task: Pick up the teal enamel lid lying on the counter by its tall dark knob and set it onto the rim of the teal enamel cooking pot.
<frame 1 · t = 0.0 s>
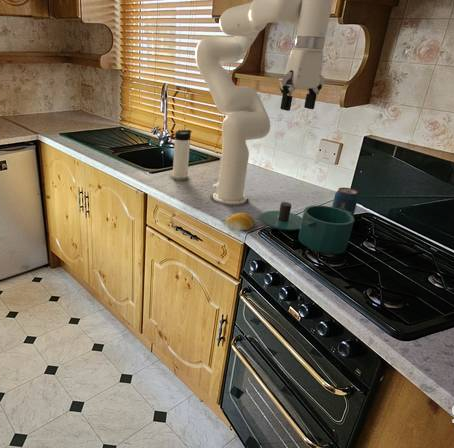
hand: (297, 109, 116), 37 cm above the worktop, tool pointing down, fingers open, 9 cm apart
travel mug: (180, 178, 170), on the worktop
bread roll: (239, 226, 129), on the worktop
lid: (282, 221, 133), point 1 cm above the worktop
pot: (321, 243, 121), on the worktop
soda can: (339, 224, 134), on the worktop
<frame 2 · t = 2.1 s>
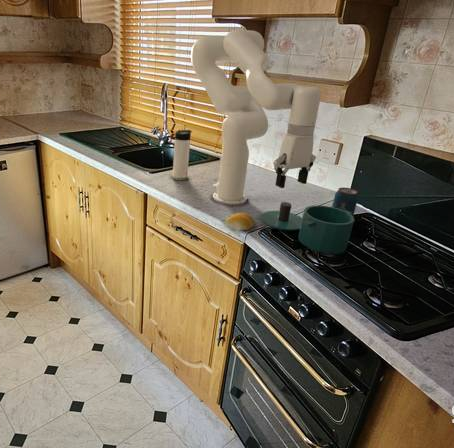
hand: (290, 184, 127), 13 cm above the worktop, tool pointing down, fingers open, 9 cm apart
nothing on the worktop moved.
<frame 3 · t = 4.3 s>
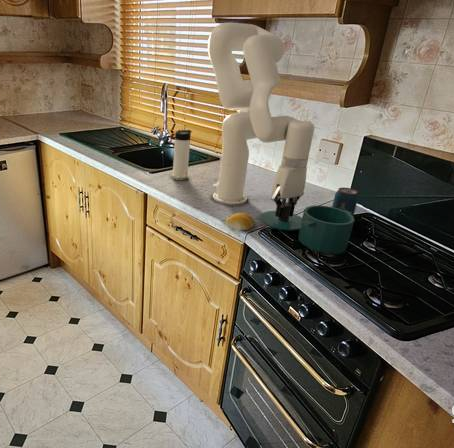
hand: (283, 215, 132), 3 cm above the worktop, tool pointing down, fingers closed on lid, 3 cm apart
lid: (282, 221, 133), point 1 cm above the worktop, touching gripper
everything else where it was.
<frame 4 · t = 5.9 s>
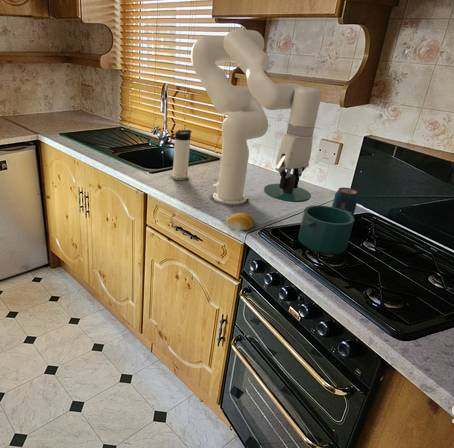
hand: (288, 187, 128), 12 cm above the worktop, tool pointing down, fingers closed on lid, 3 cm apart
lid: (286, 193, 129), point 10 cm above the worktop, touching gripper
everything else where it was.
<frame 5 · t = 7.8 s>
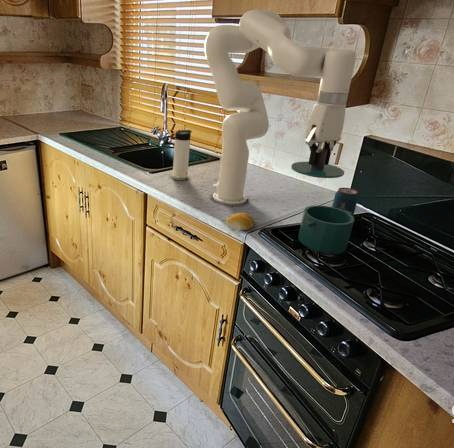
hand: (318, 163, 117), 23 cm above the worktop, tool pointing down, fingers closed on lid, 3 cm apart
lid: (317, 170, 118), point 21 cm above the worktop, touching gripper
everything else where it was.
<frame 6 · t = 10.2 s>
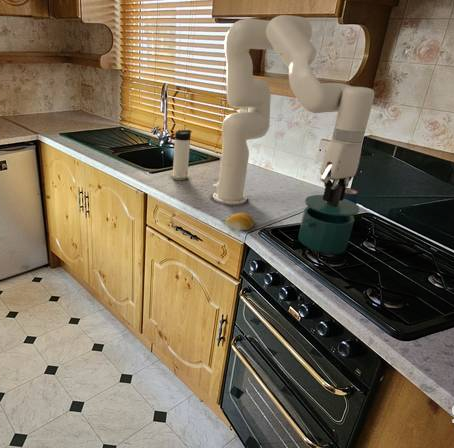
hand: (332, 199, 115), 14 cm above the worktop, tool pointing down, fingers closed on lid, 3 cm apart
lid: (331, 205, 116), point 12 cm above the worktop, touching gripper
everything else where it was.
when the fingers open (11 cm above the worktop, at t = 11.6 s): lid stays where it is, resting on pot.
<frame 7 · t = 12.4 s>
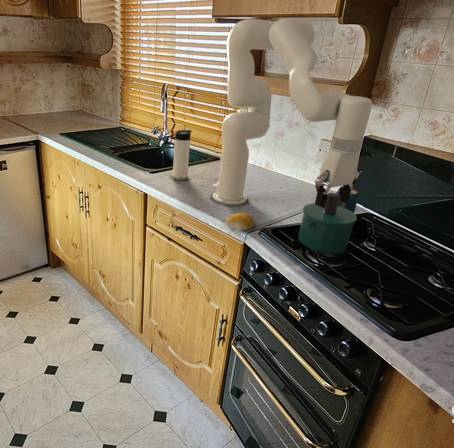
hand: (331, 203, 115), 13 cm above the worktop, tool pointing down, fingers open, 9 cm apart
lid: (329, 214, 117), point 9 cm above the worktop, touching pot
everything else where it was.
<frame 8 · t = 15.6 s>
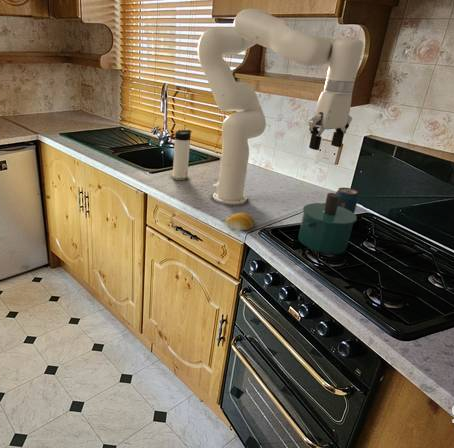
hand: (325, 147, 120), 26 cm above the worktop, tool pointing down, fingers open, 9 cm apart
nothing on the worktop moved.
at the end: lid 0.1 cm off-centre on the pot, point 9.5 cm above the pot's base; lid tilted 0° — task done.
